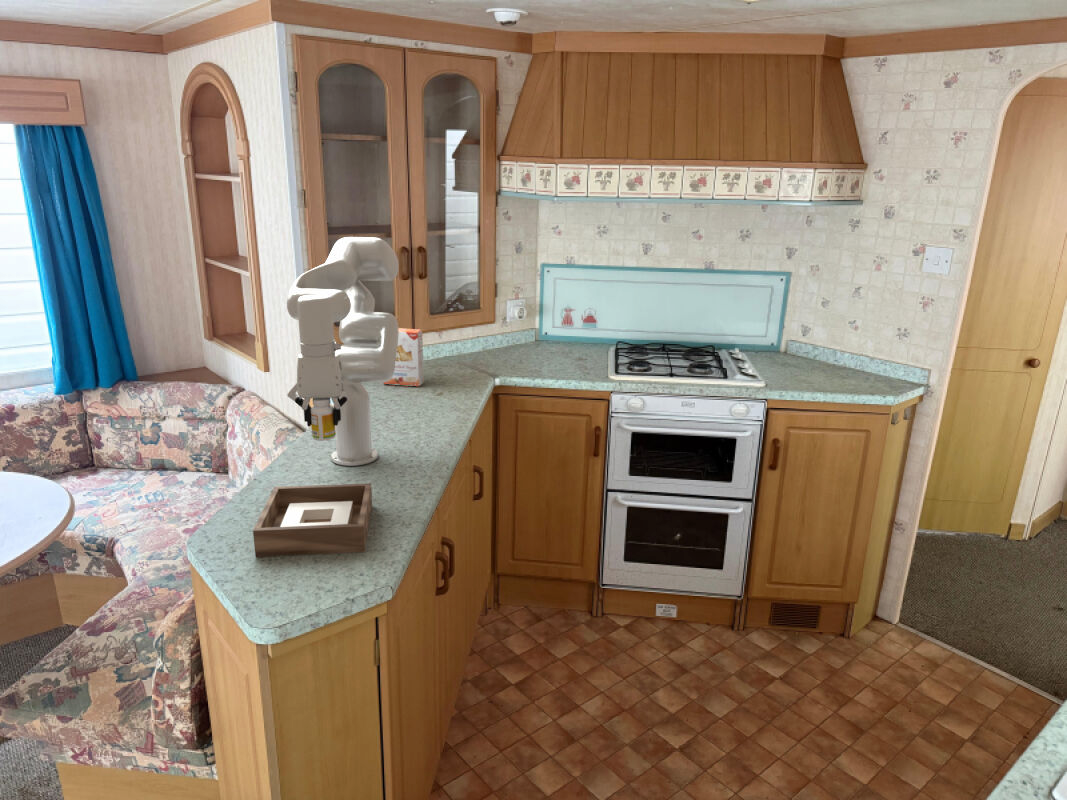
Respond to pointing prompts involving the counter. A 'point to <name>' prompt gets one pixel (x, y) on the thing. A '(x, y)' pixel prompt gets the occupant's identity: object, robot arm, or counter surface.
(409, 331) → the cracker box
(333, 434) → the supplement bottle
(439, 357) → the counter surface
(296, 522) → the socket plate
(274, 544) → the open box
